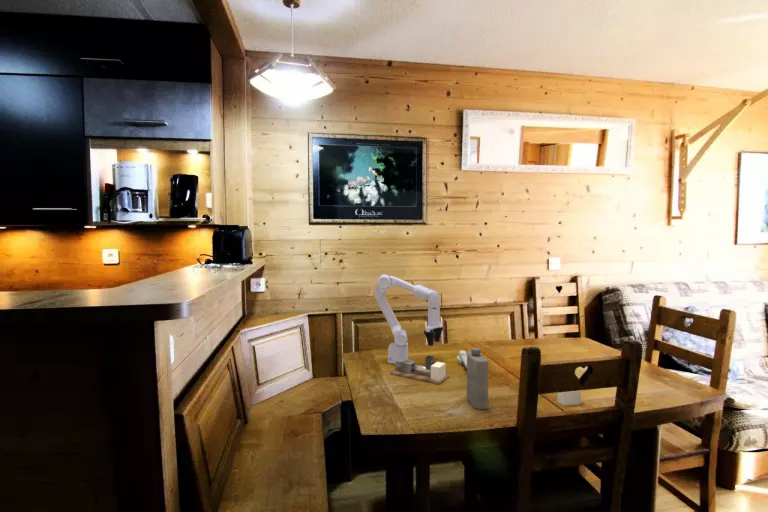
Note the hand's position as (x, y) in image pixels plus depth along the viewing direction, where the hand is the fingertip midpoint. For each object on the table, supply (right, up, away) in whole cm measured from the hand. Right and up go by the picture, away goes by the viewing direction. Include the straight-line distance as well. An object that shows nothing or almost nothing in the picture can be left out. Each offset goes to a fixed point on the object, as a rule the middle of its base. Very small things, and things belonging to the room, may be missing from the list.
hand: (433, 343), depth 191 cm
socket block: (-1, -11, -22) cm, 25 cm away
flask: (+10, -12, -44) cm, 47 cm away
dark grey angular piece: (-7, -9, -19) cm, 22 cm away
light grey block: (+44, -12, -46) cm, 65 cm away
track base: (-9, -10, -18) cm, 22 cm away
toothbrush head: (+15, -10, -10) cm, 21 cm away
